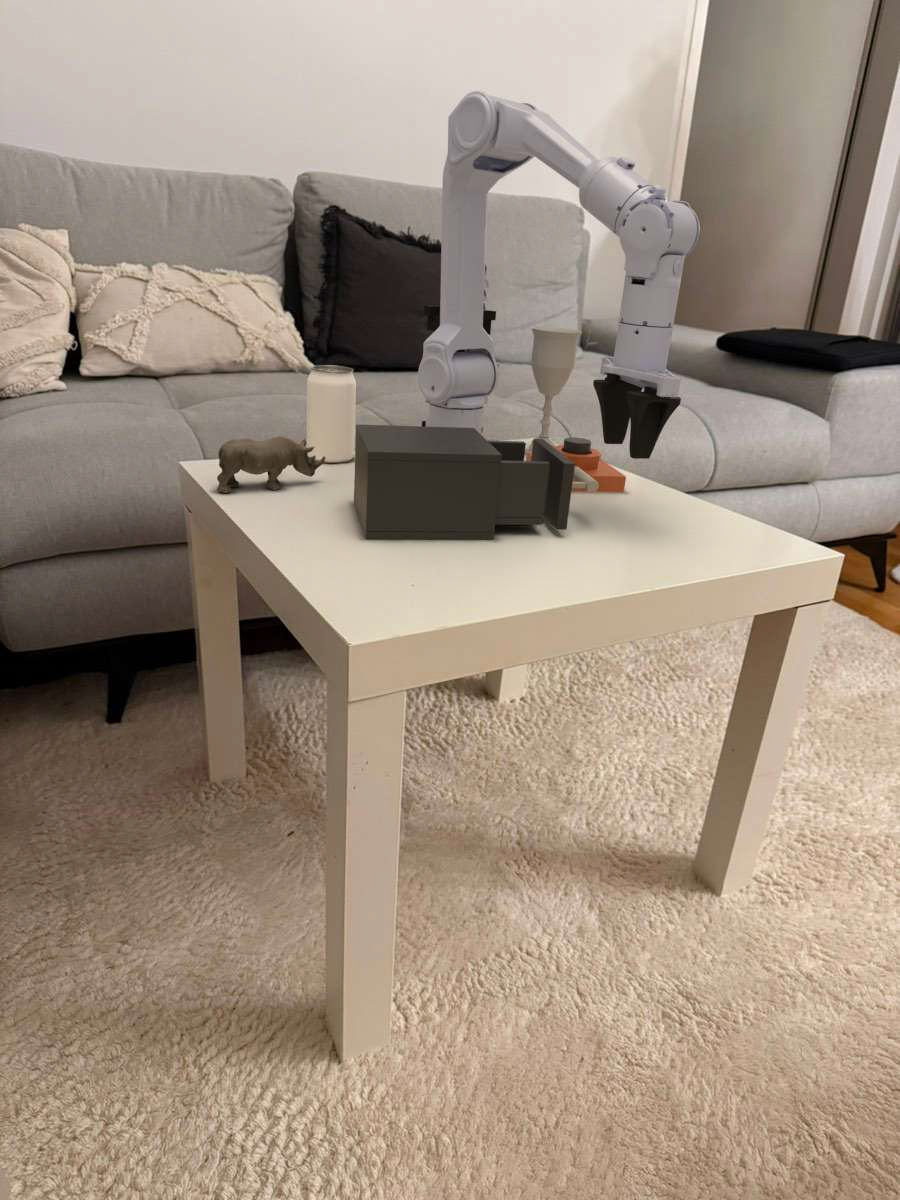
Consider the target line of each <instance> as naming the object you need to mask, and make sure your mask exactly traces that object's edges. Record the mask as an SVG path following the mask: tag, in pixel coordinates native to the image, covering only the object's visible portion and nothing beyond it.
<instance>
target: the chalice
mask: <svg viewBox="0 0 900 1200" xmlns="http://www.w3.org/2000/svg"><path fill="white" fill-rule="evenodd" d="M530 329H531V331H532V334H533V343H532V352H531V361H530V364H531V368H532V374H533V377H534V381H535V383H536V386H537V390H538V392H539V393H540V394H541V395H543V396H544V404H543V407H542V408H541V410H542V415H543V416H542V418H541V419H540V421H539V423H540V425H541V432H540V434H538V437H534V438H533V439H544V440H545V441H546V442H547V443H549V444H550V445H551V446H553V447H554V446H557V444H556V441H555V440H554V439H553V438H551V437H550V434H549V428H550V426H551V425H552V424H553V422H552V421H551V414H552V412H553V411H554V409H553V407H552V404H553V403H552V402H553V398H554V397H555V396H558V395H560V393H561V392H562V390H563V389H564V387H565V386H566V384H567V382H568V381H569V378H570V376H571V375H572V372H573V370H574V368H575V363H576V355H577V346H578V341H579V338H580V337H581V335H582V333H583V331H581V330H577V329H571V328H563V327H552V326H532V327H530ZM533 439H532V440H531V441H530V442H531V443H530V444H529V445H528V448H527V450H525V454H527V452H532V447H533Z"/></svg>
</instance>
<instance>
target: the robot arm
mask: <svg viewBox="0 0 900 1200" xmlns="http://www.w3.org/2000/svg"><path fill="white" fill-rule="evenodd" d="M447 119H448V121H447V124H448V125H447V129H448V130H447V155H446V159H445V162H444V167H443V171H442V191H441V193H442V195H441V251H440V253H441V254H440V300H439V302H440V306H439V307H440V326H439V328H438V329H437V330H436V331H433V332H432V334H430V335H429V336H428V337H427V338H426V339H425V340H424V342H423V349H422V351H423V352H422V358H421V361H420V363H419V366H418V371H417V382H418V386H419V389H420V392H421V394H422V395H423V397H424V398H425V401H424V402H425V403H426V404H428V409H427V412H426V416H425V421H426V427H457V428H475V429H476V430H477V431H478V432H479V433H480V434H481V435H482V433H481V431H482V427H483V417H484V406H485V405H487V404H488V398H489V397H490V396H492V395H493V393H494V392H495V391H496V390H497V389H496V388H497V387H498V384H499V378H500V376H499V375H500V374H499V371H500V370H499V366H498V364H497V363H498V362H497V360H496V355H495V342H494V340H493V339H492V337H491V335H488V334H487V332H486V331H485V330H484V328H483V310H484V305H485V303H484V301H485V275H486V273H485V272H486V248H487V247H486V245H487V244H486V242H487V220H488V219H487V217H488V215H487V214H488V194H489V191H490V190H491V189H492V188H493V187H494V186H495V185H496V184H497V183H498V182H499V181H500V180H501V179H503V178H504V177H506V176H508V175H510V174H511V173H513V172H514V171H516V170H517V169H519V168H521V167H522V166H524V165H526V164H527V163H529V162H530V161H531V160H533V159H534V158H536V159H537V160H539V161H540V162H542V163H543V164H544V165H546V166H547V167H548V168H550V169H551V170H553V171H554V172H556V173H557V174H559V175H560V176H562V177H563V178H564V179H565V180H567V181H568V182H570V183H571V184H572V185H574V186H576V187H577V188H578V190H579V191H578V198H579V203H580V206H581V207H582V209H584V210H585V211H587V213H589V214H590V215H591V216H593V218H595V219H596V220H597V221H599V222H600V223H601V224H602V225H603V226H605V227H606V228H607V229H608V230H609V231H611V232H612V233H613V234H614V235H615V236H616V237H618V238H619V243H620V246H621V249H622V250H623V253H624V256H625V260H624V261H625V262H624V267H623V270H624V271H625V276H624V284H623V290H622V297H621V302H620V310H619V317H618V323H617V331H616V338H615V345H614V353H613V357H612V356H602V357H601V364H600V371H599V374H600V375H602V376H605V377H604V379H594V380H593V383H592V385H593V388H594V390H595V394H596V397H597V400H598V404H599V409H600V414H601V426H602V436H603V443H604V444H605V445H623V443H624V441H625V438H626V436H627V432H628V428H629V424H630V433H629V446H628V447H629V457H630V458H631V459H634V460H635V459H636V460H637V459H640V460H641V459H642V460H643V459H645V460H647V459H650V458H651V456H652V453H653V451H654V449H655V447H656V444H657V442H658V440H659V437H660V435H661V434H662V431H663V429H664V427H665V426H666V424H667V422H668V420H669V419H670V417H671V416H672V414H673V413H674V412H675V411H676V410H677V409H678V407H679V406H680V405H681V401H682V398H681V396H679V391H680V385H681V377H679V376H676V375H675V374H673V373H672V372H671V371H670V370H668V369H667V365H668V359H669V352H670V347H671V343H672V342H671V341H672V335H673V329H674V328H673V327H674V323H675V318H676V311H677V305H678V299H679V293H680V288H681V282H682V275H683V270H684V266H685V265H684V264H685V260H686V259H685V258H687V257H688V256H689V255H690V254H691V253H692V252H693V251H694V249H695V248H696V246H697V243H698V241H699V236H700V231H701V228H700V227H701V225H700V220H699V217H698V215H697V213H696V212H695V210H694V209H692V207H691V205H690V204H689V202H687V201H685V200H684V201H683V200H671V201H670V200H667V197H666V195H665V194H666V192H667V190H666V188H665V187H663V186H662V185H660V184H657V183H654V184H651V183H650V182H649V181H647V179H645V178H644V177H643V176H641V175H640V174H638V173H637V172H636V171H634V168H635V166H636V163H635V162H634V161H633V160H632V159H630V158H628V157H625V156H619V157H616V156H607V157H604V158H601V159H598V158H597V157H596V156H595V155H594V154H593V153H591V152H590V151H589V150H588V149H587V148H586V147H584V145H582V144H581V143H580V142H579V141H578V140H577V139H576V138H575V137H574V136H572V135H571V134H570V133H569V132H568V131H567V130H566V129H565V128H563V127H562V126H561V125H560V124H559V123H558V122H556V121H555V120H554V119H553V118H552V116H551V115H550V114H549V113H547V112H544V111H542V110H539V109H538V108H537V107H536V106H535V105H534V104H532V103H528V102H519V101H513V100H510V99H506V98H501V97H497V96H494V95H490V94H488V93H486V92H484V91H482V90H473V91H471V92H468V93H467V94H465V96H464V97H462V99H461V100H460V101H459V103H457V105H456V106H455V108H454V109H453V110H452V111H451V113H450V114H449V115H448V118H447ZM460 349H465V352H456V351H457V350H460ZM482 432H483V431H482Z"/></svg>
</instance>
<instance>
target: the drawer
mask: <svg viewBox="0 0 900 1200" xmlns="http://www.w3.org/2000/svg"><path fill="white" fill-rule="evenodd" d="M486 440H487V439H486ZM532 440H533V447H532V456H531V461H526V460H525V456H526V455H525V454H526V447H527V446H526V444H527V443H526V442H525V441H522V440H520V441H518V440H489V439H488V440H487V441H488V442H489V443H490V444H491V445H492V446H493V447H494V448H495V449H496V450H497V451H498V452H499V453H500V454H501V455H502V460H501V469H500V479H499V489H498V499H497V510H496V520H495V526H496V525H499V526H500V525H502V526H503V525H505V526H506V525H509V526H510V525H514V526H515V525H516V526H517V525H519V526H520V525H523V526H525V525H526V526H527V525H528V526H532V525H533V526H536V525H537V526H542V525H544V519H546V521H547V522H548V523H549V524H550V525H551V526H552V527H553V528H554V529H555V530H556V531H557V530H559V531H560V530H561V531H563V530H567V527H568V519H569V512H570V506H571V497H572V492H573V491H572V488H585V489H586V490H587V491H589V493H591V494H592V493H596V492H595V491H596V490H597V489H598V486H599V485H598V482H597V481H596V480H594V479H593V478H592V477H590V476H589V475H588V474H586V473H585V472H584V471H583V470H581V469H580V468H579V467H576V466H575V463H573V462H572V461H571V460H569V459H568V458H567V457H566V456H564V455H563V454H562V453H560V452H559V451H558V450H556V449H555V448H554V447H553V446H551V445H550V444H549V443H547V442H546V441H545V440H544V439H534V438H532ZM573 479H574V480H575V481H576V482H573Z"/></svg>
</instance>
